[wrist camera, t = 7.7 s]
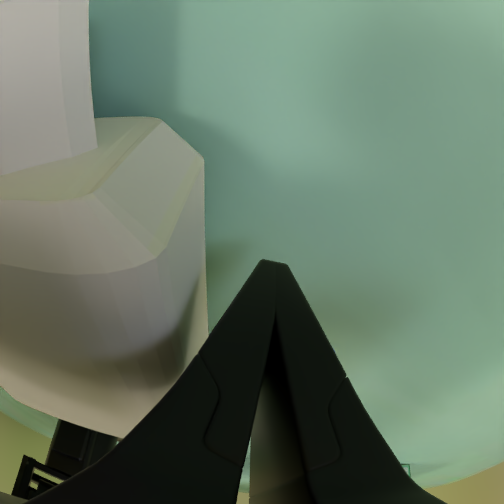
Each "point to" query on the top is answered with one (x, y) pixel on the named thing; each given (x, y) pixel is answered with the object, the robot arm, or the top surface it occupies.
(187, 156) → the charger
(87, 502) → the robot arm
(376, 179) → the top surface
